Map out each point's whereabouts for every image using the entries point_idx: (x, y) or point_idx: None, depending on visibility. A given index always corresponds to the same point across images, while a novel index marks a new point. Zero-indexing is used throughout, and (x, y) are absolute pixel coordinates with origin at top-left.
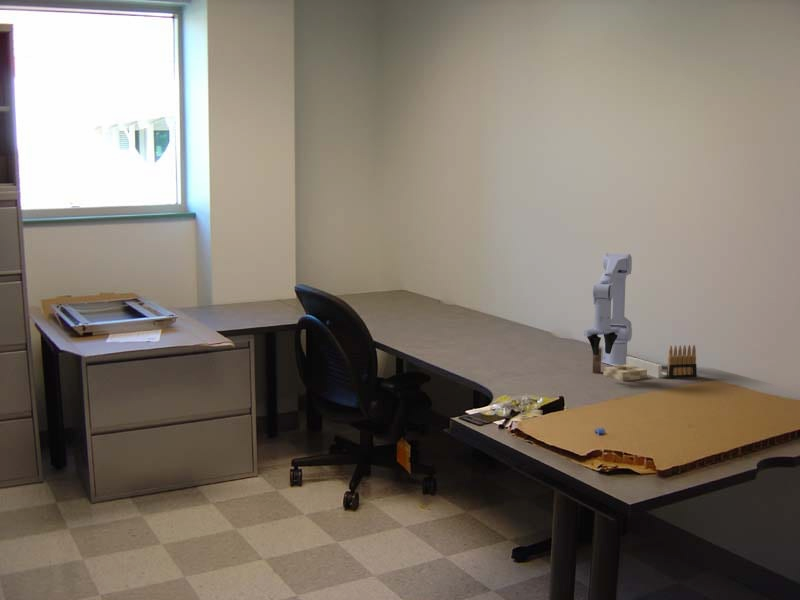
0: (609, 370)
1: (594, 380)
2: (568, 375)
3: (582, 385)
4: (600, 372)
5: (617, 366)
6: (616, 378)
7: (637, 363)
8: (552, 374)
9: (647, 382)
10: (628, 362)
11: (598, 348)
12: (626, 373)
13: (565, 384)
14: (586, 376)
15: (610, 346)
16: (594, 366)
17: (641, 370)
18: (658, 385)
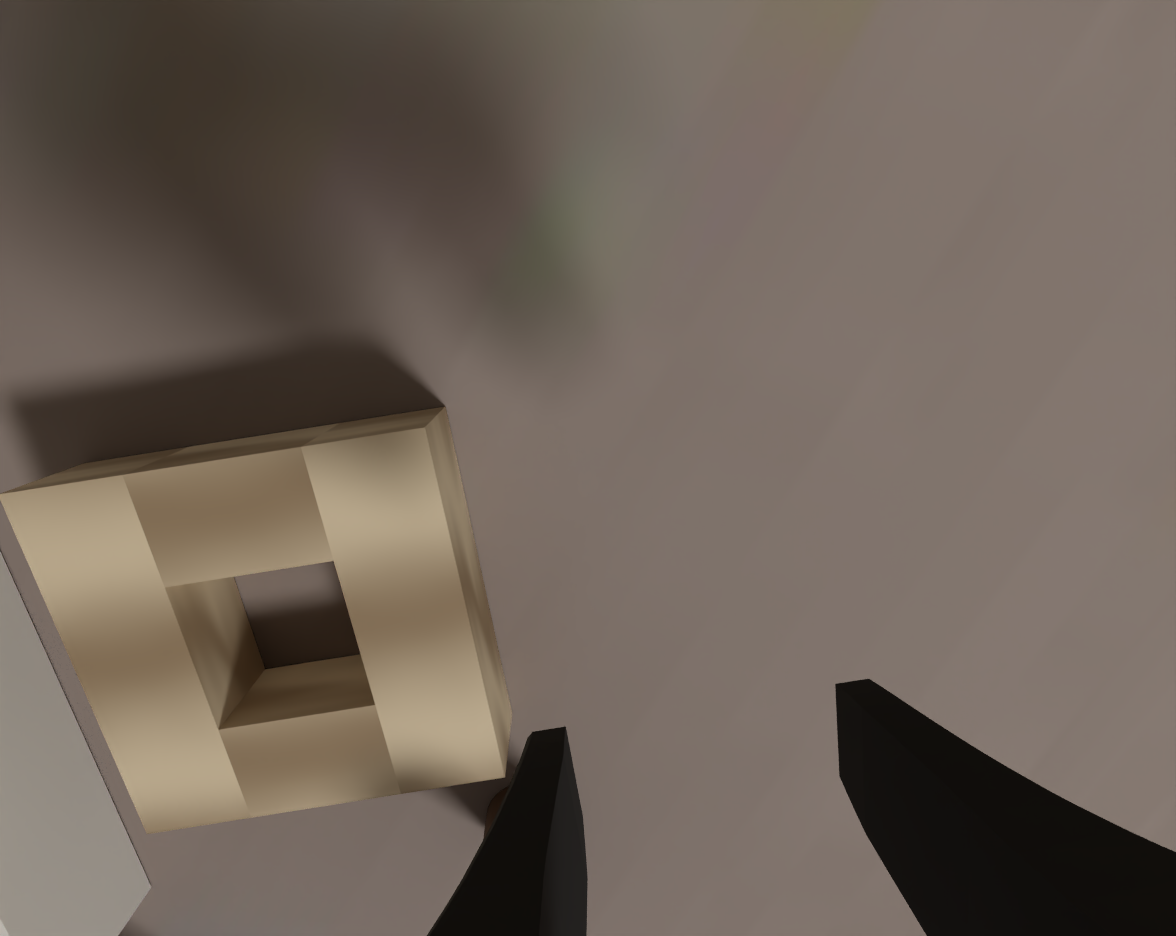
0: (485, 669)
1: (730, 532)
2: None
3: (984, 367)
4: (497, 796)
5: (326, 760)
6: (467, 517)
7: (9, 817)
8: None
9: (167, 251)
10: (89, 927)
11: (938, 765)
12: (366, 432)
13: (1116, 465)
14: (711, 703)
15: (548, 841)
16: None
17: (95, 486)
18: (80, 40)
